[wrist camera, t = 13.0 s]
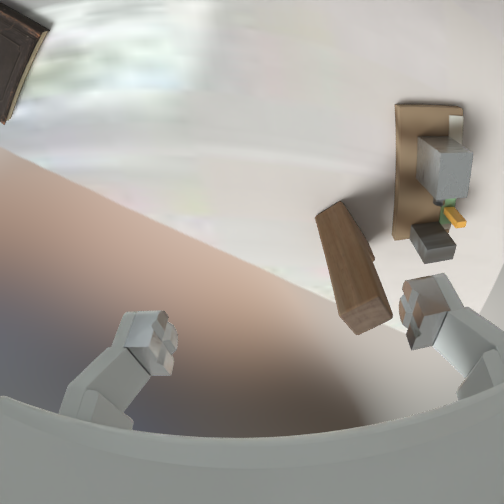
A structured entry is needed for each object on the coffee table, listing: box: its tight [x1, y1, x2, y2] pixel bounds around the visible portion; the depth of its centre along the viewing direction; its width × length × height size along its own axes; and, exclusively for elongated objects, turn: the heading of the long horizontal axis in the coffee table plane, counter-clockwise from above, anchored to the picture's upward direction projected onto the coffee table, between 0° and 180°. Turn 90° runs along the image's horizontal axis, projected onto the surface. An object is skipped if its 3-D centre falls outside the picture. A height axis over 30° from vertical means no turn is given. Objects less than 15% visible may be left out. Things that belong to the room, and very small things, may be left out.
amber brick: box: [444, 207, 467, 228], centre depth 35 cm, size 1×2×4 cm, turn 101°
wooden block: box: [315, 201, 393, 335], centre depth 35 cm, size 9×4×18 cm, turn 39°
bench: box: [392, 104, 463, 264], centre depth 33 cm, size 20×10×8 cm, turn 11°
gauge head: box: [416, 136, 473, 206], centre depth 31 cm, size 8×8×6 cm
